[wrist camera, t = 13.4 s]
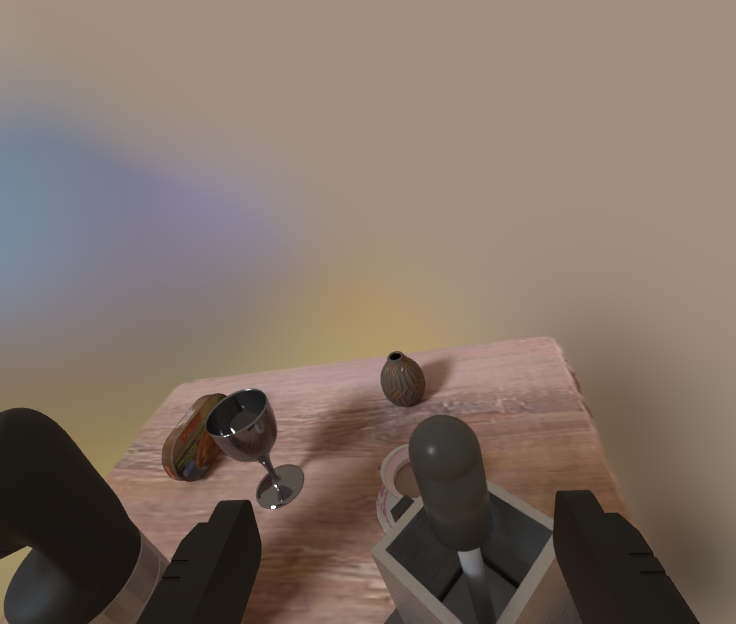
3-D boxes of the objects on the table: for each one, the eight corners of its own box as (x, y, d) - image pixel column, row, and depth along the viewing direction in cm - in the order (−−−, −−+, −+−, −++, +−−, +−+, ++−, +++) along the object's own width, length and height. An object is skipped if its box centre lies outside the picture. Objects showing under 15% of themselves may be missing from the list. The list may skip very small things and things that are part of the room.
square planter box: (371, 649, 39) (315, 557, 31) (470, 522, 47) (446, 421, 39) (529, 846, 27) (506, 781, 19) (625, 632, 35) (638, 522, 27)
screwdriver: (425, 630, 36) (344, 441, 24) (476, 559, 40) (429, 365, 28) (503, 712, 31) (450, 519, 18) (554, 621, 34) (538, 411, 22)
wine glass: (286, 518, 53) (239, 440, 46) (242, 504, 57) (191, 430, 50) (316, 467, 59) (278, 391, 52) (274, 458, 63) (233, 385, 56)
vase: (394, 382, 70) (381, 341, 66) (432, 384, 68) (422, 342, 63) (381, 411, 65) (366, 370, 61) (422, 415, 62) (410, 371, 58)
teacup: (481, 468, 52) (474, 435, 49) (463, 564, 43) (454, 531, 40) (394, 455, 58) (384, 424, 54) (362, 537, 49) (348, 506, 46)
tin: (193, 493, 61) (164, 456, 57) (177, 492, 62) (148, 455, 58) (242, 417, 73) (222, 382, 69) (228, 417, 74) (207, 383, 70)
